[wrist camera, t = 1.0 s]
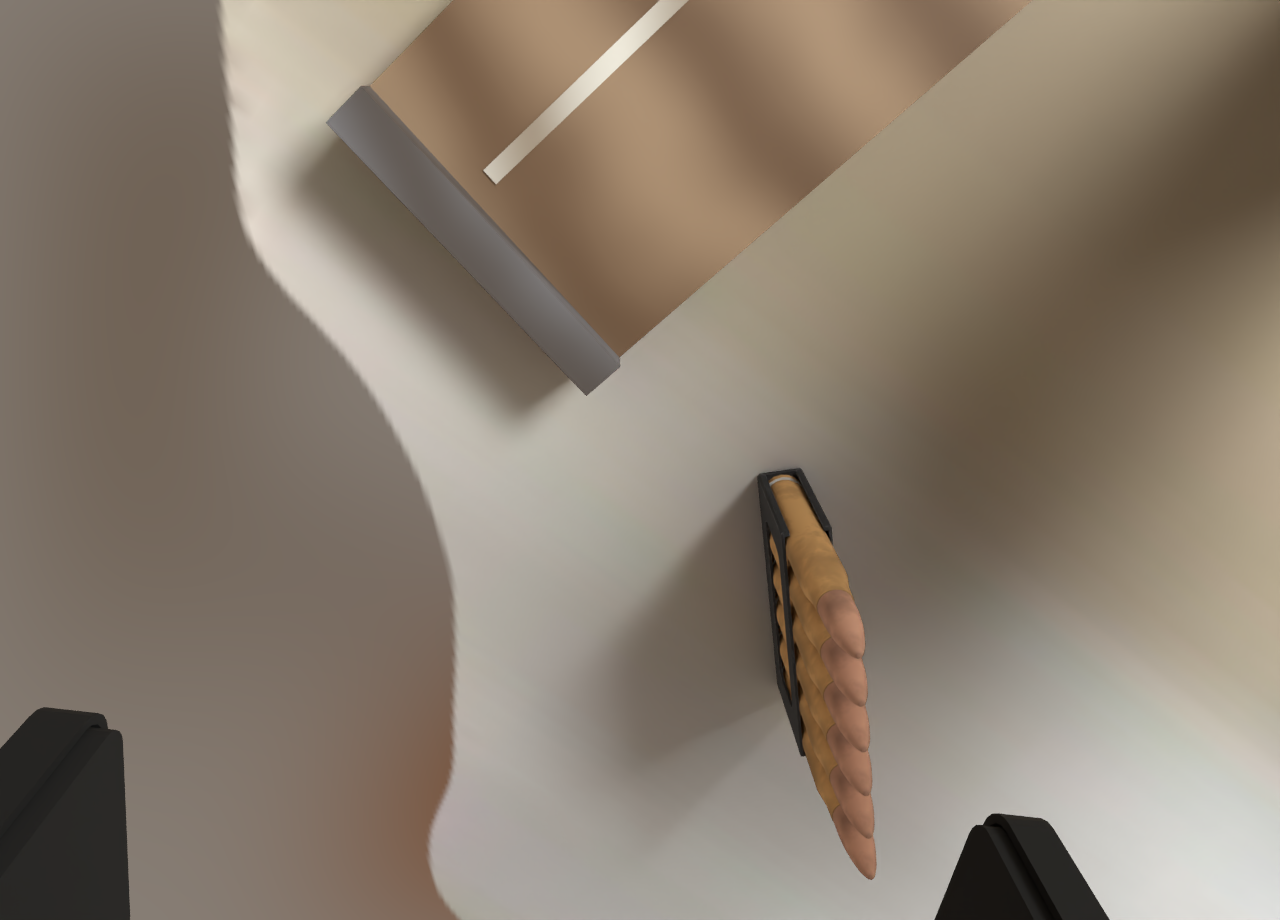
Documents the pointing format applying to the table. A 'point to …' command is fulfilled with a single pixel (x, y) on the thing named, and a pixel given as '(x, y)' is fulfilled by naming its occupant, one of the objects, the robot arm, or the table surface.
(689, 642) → the table surface
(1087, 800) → the table surface
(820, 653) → the ammunition clip
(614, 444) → the table surface
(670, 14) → the board
